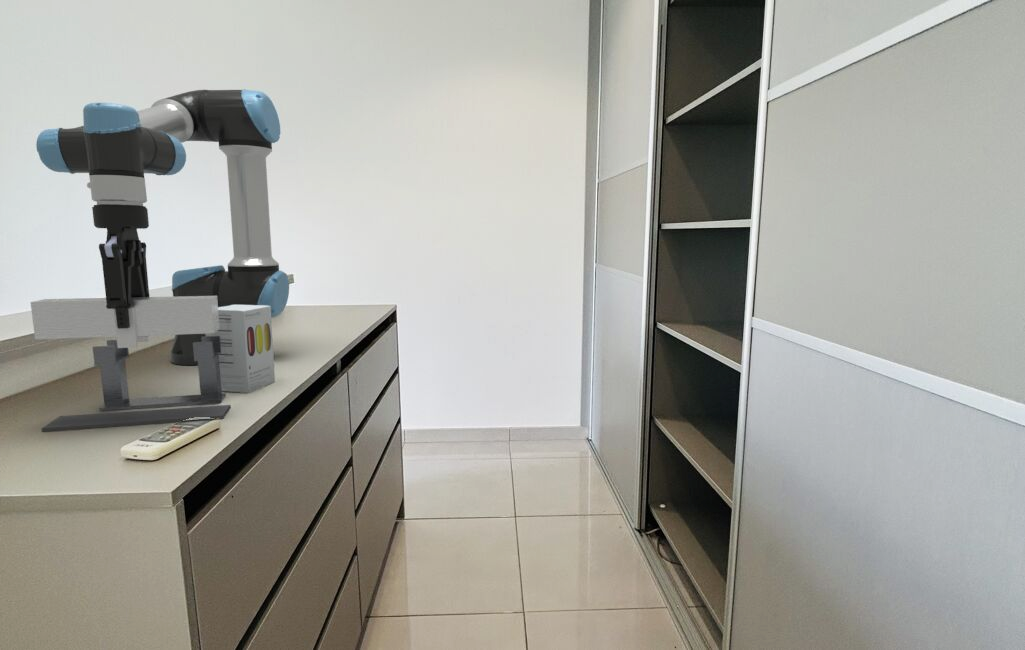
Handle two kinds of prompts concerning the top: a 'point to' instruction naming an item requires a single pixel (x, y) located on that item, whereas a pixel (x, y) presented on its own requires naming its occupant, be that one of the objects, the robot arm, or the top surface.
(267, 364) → the supplement box
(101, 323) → the rail
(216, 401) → the standards
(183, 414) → the mat
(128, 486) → the top surface
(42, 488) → the top surface
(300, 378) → the top surface
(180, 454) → the top surface
